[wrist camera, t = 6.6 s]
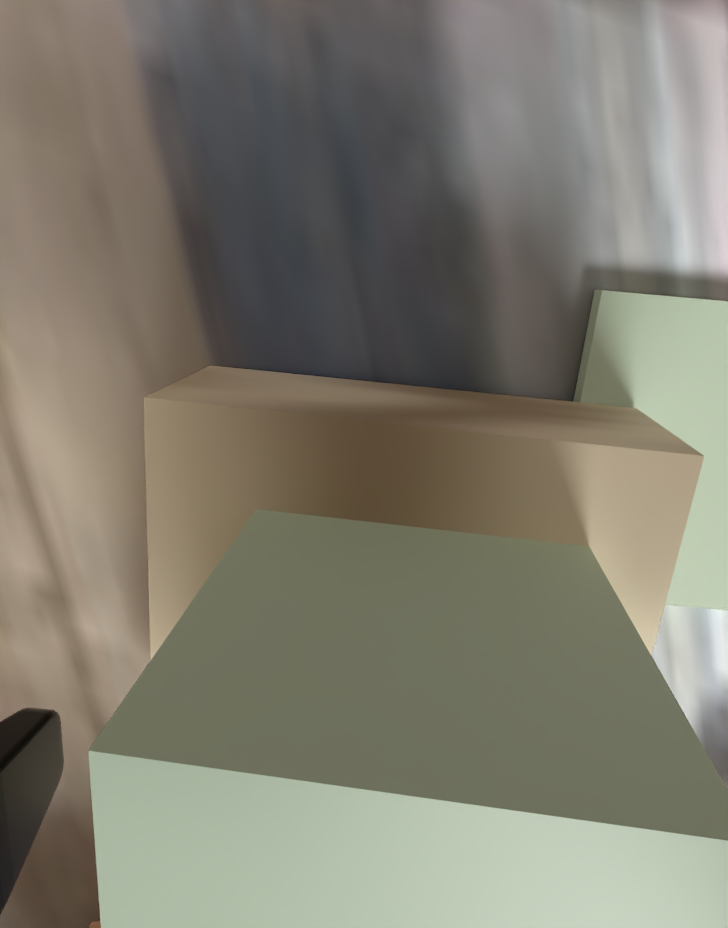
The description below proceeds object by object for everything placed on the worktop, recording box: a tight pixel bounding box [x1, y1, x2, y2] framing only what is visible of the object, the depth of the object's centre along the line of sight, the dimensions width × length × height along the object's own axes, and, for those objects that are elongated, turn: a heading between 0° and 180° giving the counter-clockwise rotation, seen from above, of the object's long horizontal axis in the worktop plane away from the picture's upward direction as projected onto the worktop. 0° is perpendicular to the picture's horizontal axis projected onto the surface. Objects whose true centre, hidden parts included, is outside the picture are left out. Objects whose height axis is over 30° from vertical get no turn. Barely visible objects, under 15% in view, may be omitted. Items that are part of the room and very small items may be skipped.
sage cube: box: [88, 509, 728, 928], centre depth 8 cm, size 5×5×5 cm
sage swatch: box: [573, 289, 728, 610], centre depth 12 cm, size 6×6×1 cm
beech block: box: [143, 366, 704, 659], centre depth 12 cm, size 8×8×3 cm
